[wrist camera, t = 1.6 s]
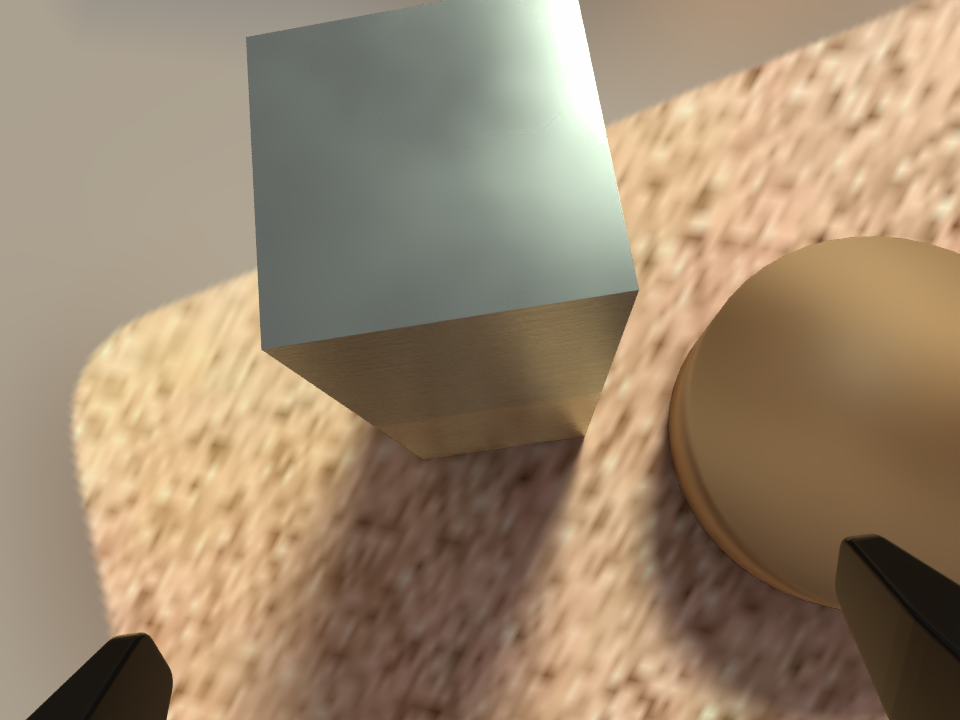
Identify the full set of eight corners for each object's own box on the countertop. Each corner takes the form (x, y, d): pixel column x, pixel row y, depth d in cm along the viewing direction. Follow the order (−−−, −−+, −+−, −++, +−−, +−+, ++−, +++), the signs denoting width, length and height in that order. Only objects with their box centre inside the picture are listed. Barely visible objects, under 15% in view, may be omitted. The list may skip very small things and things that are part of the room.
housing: (584, 436, 22) (639, 290, 9) (423, 459, 22) (261, 349, 9) (557, 284, 23) (572, -24, 10) (407, 308, 23) (246, 37, 11)
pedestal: (918, 683, 19) (998, 714, 16) (607, 480, 21) (619, 469, 18) (1069, 389, 21) (1171, 359, 17) (766, 229, 23) (804, 175, 19)
